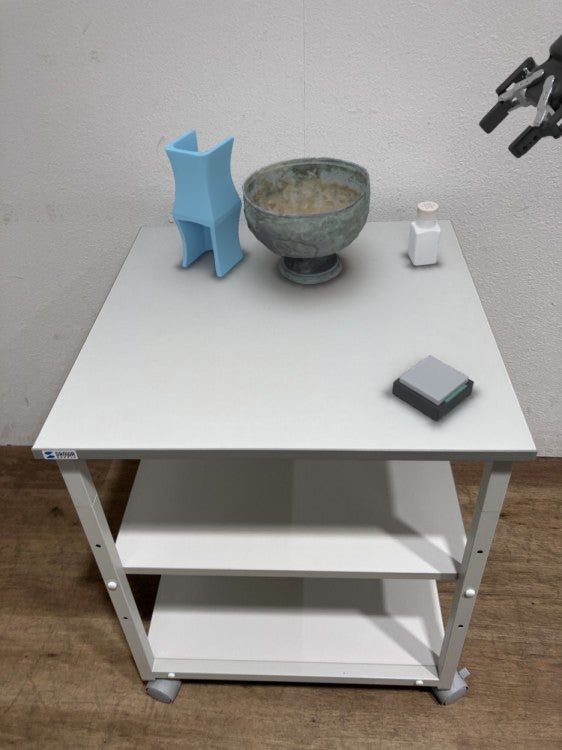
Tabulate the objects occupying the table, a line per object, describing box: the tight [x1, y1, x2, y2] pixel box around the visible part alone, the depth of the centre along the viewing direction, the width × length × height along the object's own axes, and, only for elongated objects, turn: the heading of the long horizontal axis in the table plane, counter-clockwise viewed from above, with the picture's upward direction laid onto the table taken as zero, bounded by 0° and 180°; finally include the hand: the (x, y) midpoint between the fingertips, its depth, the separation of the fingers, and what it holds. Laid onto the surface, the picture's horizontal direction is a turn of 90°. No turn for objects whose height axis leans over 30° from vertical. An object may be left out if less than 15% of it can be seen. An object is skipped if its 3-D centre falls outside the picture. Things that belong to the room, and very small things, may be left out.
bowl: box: [241, 156, 371, 285], centre depth 96 cm, size 20×19×15 cm
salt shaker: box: [407, 200, 442, 267], centre depth 98 cm, size 4×4×10 cm
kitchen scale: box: [391, 354, 475, 422], centre depth 77 cm, size 7×7×3 cm
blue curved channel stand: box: [164, 129, 244, 278], centre depth 98 cm, size 8×8×20 cm
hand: (497, 141), depth 84 cm, fingers open, 8 cm apart
